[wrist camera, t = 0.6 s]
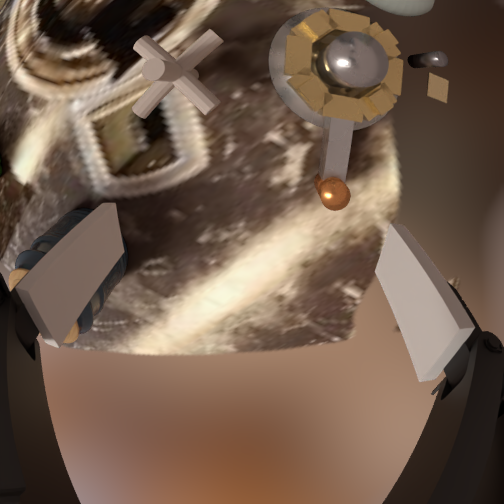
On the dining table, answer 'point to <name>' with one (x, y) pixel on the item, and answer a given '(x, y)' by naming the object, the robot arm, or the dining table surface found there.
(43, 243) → the canister
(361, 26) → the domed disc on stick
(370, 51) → the gold and silver mechanism
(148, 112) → the pipe connector
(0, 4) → the coffee can
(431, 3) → the air freshener
